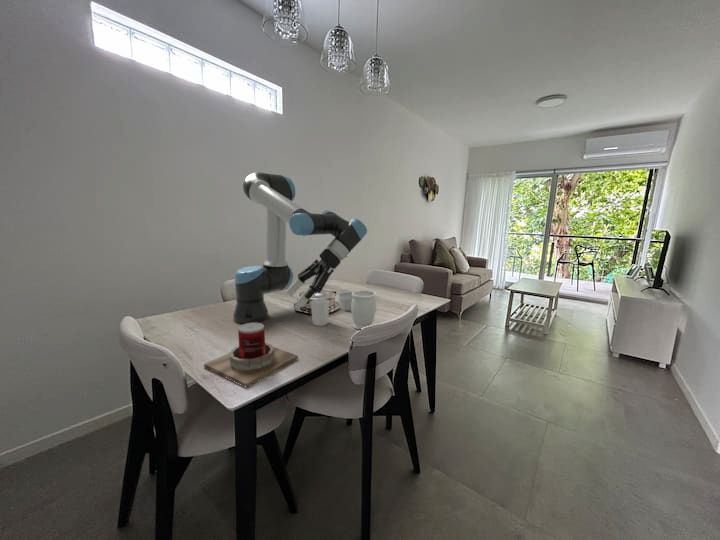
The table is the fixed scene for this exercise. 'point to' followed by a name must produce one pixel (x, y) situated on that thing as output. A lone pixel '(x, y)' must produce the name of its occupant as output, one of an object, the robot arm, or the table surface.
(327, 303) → the white cup
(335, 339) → the table surface
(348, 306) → the ramekin
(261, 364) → the cup holder
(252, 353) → the canned food
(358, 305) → the jar
